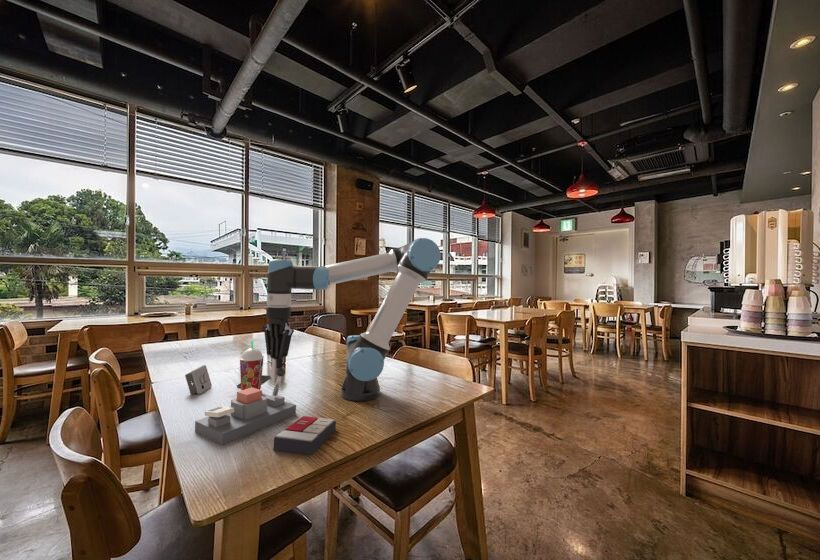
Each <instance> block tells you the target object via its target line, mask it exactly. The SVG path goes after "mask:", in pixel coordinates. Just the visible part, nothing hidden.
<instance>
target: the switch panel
mask: <svg viewBox="0 0 820 560" xmlns="http://www.w3.org/2000/svg"><path fill="white" fill-rule="evenodd" d="M285 398H286V397H285V396H283V395H280V394H278V395H277V396H273V394H271V395H268V396H263V395H262V399H261V400H258V401H255V402H252V403H249V404H244V403H241V402H238V401H237V397H236V398H233V399H231V400H230V407H231V408H234V412H233V413H230V414H227V415H224V416H221V417H210V416H205V417H203V418H200V419H197V420H195V421H194V432H196V433H197V434H200V435H202V436H203V437H204V438H207V439H210V440H212V441H214V442H216V443H217V444H220V445H221V446H223V445H225V444H228V443H231V442H234V440H235V441H236V440H238V439H240V438H243V437H245V436H247V435H250V434H252V433H254V432H256V431H259V430H261V429H264V428H266V427H268V426H271V425H273V424H275V423H276V424H277V423H278V422H280V421H283V420H285V419H288V418H290V417H292V416H294V415H295V416H296V414H297V405H296V404H294V403H291V402H287V401H285Z"/></svg>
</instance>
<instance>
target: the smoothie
mask: <svg viewBox="0 0 820 560" xmlns="http://www.w3.org/2000/svg"><path fill="white" fill-rule="evenodd" d="M250 344H251V345H250V346H251V347H250V348H247V349H246V350H244V351H243V352H242V354H241V356H240V357H239V369H240V370H239V371H240V373H239V374H240V383H241V388H240V391H241V390H245V389H248V388H251V387H253V388H256V389H259V390H262V389H261V388H262V384H261V380H262V375H263V366H264V355H263V353H262V351H261V350H260V349H258V348H255V347H254V340H251V343H250Z"/></svg>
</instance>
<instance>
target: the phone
mask: <svg viewBox="0 0 820 560" xmlns="http://www.w3.org/2000/svg"><path fill="white" fill-rule="evenodd" d="M269 379H271V375H265V374H264V375H263V374H262V380H261V385H262V384H263V383H266V382H267V381H268V380H269ZM236 388H237V389H241V382H240V383H238V384H236Z"/></svg>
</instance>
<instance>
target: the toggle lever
mask: <svg viewBox="0 0 820 560" xmlns="http://www.w3.org/2000/svg"><path fill="white" fill-rule="evenodd" d="M285 374H286V369H284V368H283V367H282V368H280V369H278V371H277V375H278V376H277V378H276V379H275V382H274V388H273V389H272V390H273V391H272V395H273V396H277V395H279V390H280V386H281V383H282V380H283V377H284V376H285Z"/></svg>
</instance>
